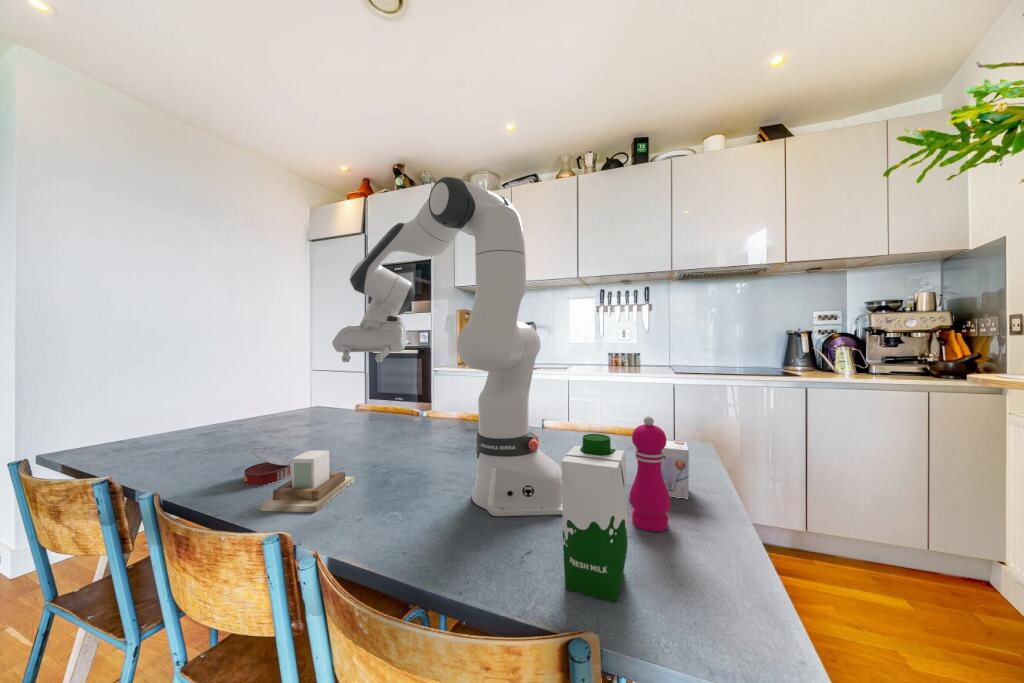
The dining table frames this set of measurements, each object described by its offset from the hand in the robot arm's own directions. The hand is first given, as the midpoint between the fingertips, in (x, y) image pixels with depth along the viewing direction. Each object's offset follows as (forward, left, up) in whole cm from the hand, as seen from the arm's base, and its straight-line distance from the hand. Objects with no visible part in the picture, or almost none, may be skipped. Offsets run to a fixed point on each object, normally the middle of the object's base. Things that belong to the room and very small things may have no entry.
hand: (361, 360), depth 101 cm
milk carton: (-60, +39, -30) cm, 78 cm away
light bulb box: (-77, +5, -30) cm, 83 cm away
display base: (+2, +18, -29) cm, 35 cm away
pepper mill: (-71, +21, -30) cm, 80 cm away
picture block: (+1, +18, -28) cm, 34 cm away
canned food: (+20, +10, -30) cm, 37 cm away
